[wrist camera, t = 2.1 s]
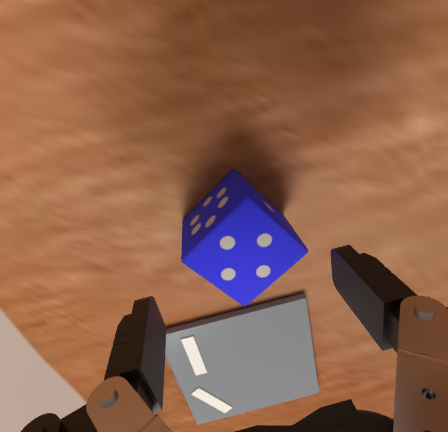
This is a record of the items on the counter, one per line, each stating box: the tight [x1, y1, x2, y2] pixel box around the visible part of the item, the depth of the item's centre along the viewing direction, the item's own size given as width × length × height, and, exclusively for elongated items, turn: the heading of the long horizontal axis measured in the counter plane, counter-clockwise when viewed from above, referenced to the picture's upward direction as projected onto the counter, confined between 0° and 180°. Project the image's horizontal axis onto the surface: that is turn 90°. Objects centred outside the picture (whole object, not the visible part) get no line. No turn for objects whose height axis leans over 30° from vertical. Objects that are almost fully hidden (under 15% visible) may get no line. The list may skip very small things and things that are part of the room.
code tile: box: [165, 293, 319, 425], centre depth 26 cm, size 12×12×1 cm
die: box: [181, 169, 308, 306], centre depth 18 cm, size 5×5×5 cm
